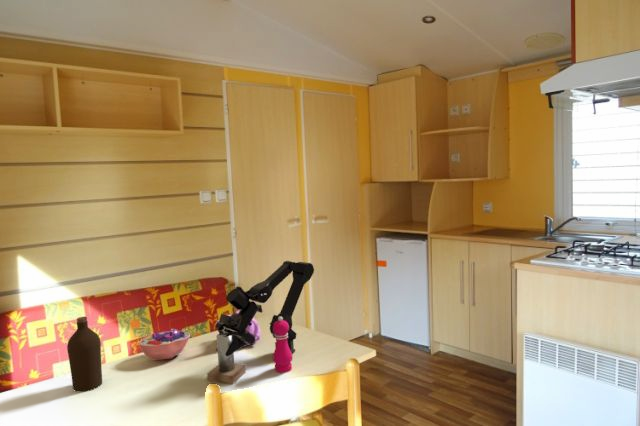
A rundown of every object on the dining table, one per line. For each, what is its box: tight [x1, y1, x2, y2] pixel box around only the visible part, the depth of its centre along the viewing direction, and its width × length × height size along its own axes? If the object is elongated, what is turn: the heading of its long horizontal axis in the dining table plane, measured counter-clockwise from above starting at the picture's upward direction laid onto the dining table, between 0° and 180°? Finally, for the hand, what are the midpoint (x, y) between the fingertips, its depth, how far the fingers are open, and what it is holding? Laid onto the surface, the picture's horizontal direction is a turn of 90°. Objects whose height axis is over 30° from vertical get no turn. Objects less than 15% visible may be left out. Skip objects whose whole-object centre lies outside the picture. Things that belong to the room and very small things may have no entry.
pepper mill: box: [272, 316, 293, 374], centre depth 169 cm, size 7×7×20 cm
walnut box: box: [206, 363, 246, 385], centre depth 165 cm, size 10×10×3 cm
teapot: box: [216, 310, 262, 347], centre depth 199 cm, size 22×22×14 cm
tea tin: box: [216, 333, 235, 372], centre depth 165 cm, size 6×6×12 cm
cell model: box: [138, 328, 191, 361], centre depth 188 cm, size 17×20×11 cm
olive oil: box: [66, 316, 103, 392], centre depth 163 cm, size 11×11×25 cm
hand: (221, 353), depth 164 cm, fingers closed on tea tin, 6 cm apart
